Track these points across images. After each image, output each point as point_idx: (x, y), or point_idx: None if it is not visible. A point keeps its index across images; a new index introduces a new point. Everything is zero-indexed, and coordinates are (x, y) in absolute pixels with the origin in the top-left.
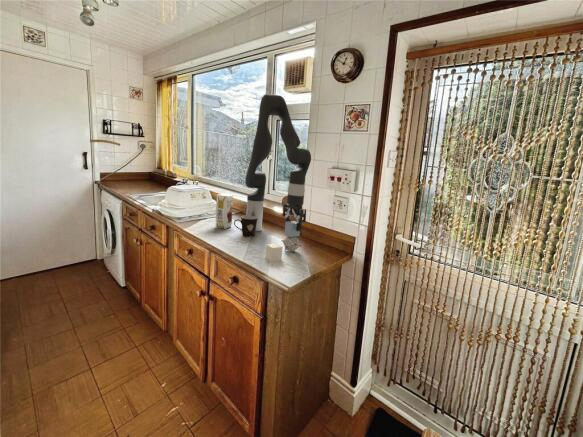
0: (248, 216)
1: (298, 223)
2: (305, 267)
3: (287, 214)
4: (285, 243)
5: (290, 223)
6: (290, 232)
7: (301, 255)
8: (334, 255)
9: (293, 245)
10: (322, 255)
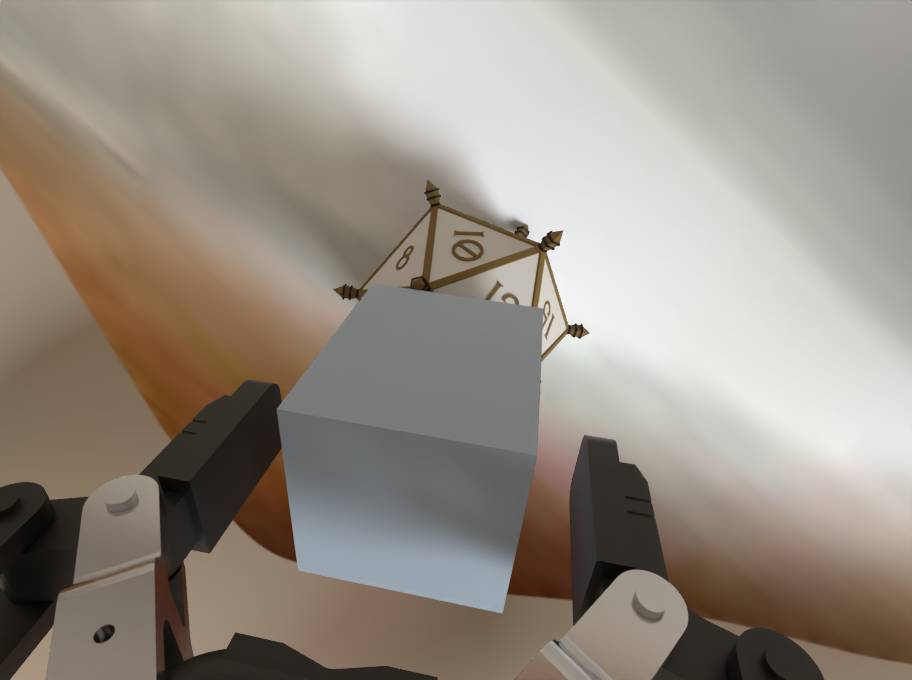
0: None
1: (162, 486)
2: (59, 78)
3: (524, 673)
4: (475, 229)
5: (346, 429)
6: (366, 316)
7: (342, 281)
8: (260, 481)
9: (379, 269)
10: None
